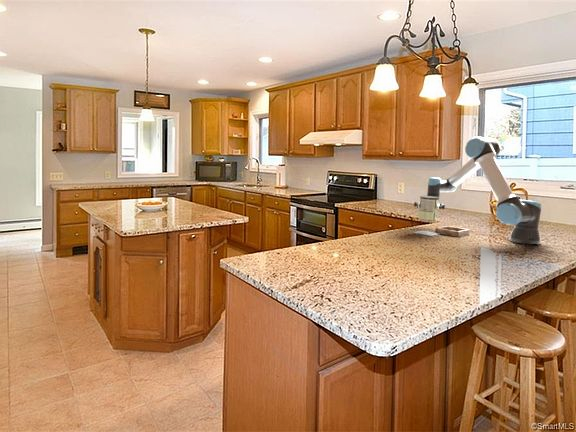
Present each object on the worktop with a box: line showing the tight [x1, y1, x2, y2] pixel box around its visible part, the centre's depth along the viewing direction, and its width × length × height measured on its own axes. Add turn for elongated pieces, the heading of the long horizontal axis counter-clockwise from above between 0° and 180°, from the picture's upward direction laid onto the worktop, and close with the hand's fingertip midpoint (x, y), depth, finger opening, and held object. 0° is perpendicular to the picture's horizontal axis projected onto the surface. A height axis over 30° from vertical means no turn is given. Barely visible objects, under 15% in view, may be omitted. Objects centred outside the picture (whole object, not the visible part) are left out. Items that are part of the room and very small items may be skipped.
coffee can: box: [418, 195, 440, 223], centre depth 244 cm, size 10×10×14 cm
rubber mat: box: [412, 230, 442, 237], centre depth 246 cm, size 12×12×1 cm
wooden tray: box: [434, 225, 471, 238], centre depth 249 cm, size 14×14×3 cm
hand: (428, 206), depth 240 cm, fingers closed on coffee can, 10 cm apart
